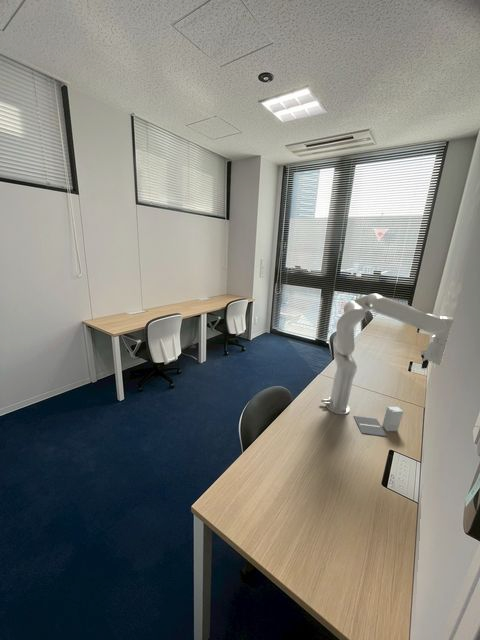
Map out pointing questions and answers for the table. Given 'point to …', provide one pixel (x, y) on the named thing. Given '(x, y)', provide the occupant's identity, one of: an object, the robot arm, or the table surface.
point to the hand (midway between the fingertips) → (432, 372)
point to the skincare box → (392, 418)
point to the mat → (369, 426)
